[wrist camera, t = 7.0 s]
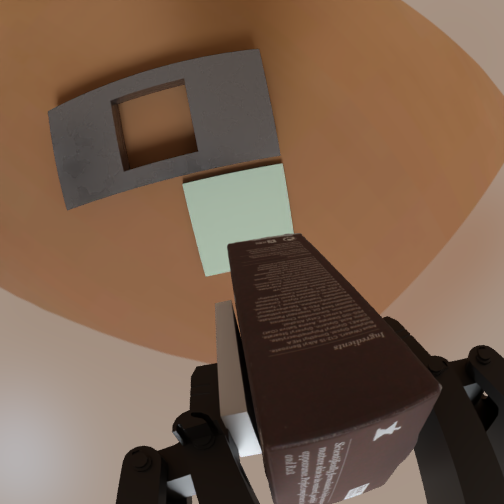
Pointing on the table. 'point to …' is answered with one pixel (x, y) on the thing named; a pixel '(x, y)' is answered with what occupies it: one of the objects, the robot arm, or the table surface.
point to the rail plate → (203, 117)
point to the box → (323, 374)
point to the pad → (237, 211)
